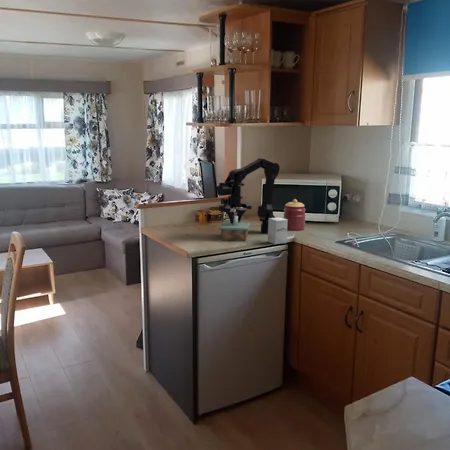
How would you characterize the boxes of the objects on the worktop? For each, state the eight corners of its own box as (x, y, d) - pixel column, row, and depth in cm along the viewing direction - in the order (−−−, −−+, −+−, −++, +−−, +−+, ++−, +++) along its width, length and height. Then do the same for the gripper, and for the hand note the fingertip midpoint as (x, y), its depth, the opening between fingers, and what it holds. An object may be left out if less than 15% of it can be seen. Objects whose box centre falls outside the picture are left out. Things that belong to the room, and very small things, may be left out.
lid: (249, 224, 262) (250, 213, 261) (247, 230, 247) (247, 219, 246) (222, 223, 264) (223, 212, 263) (219, 229, 249) (219, 218, 248)
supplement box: (275, 244, 243) (275, 220, 241) (267, 241, 250) (268, 217, 247) (287, 243, 247) (288, 219, 244) (279, 240, 253) (279, 216, 250)
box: (247, 235, 262) (247, 224, 261) (245, 241, 250) (245, 229, 249) (224, 234, 264) (224, 223, 263) (221, 239, 251) (221, 228, 250)
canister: (305, 226, 287) (306, 197, 283) (304, 231, 275) (306, 201, 271) (283, 225, 289) (284, 197, 286) (282, 230, 277) (283, 200, 273)
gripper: (239, 191, 264) (238, 218, 267) (212, 193, 253) (212, 222, 256) (252, 193, 255) (251, 222, 258) (225, 196, 244) (224, 226, 247)
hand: (234, 223), depth 255 cm, fingers open, 4 cm apart
